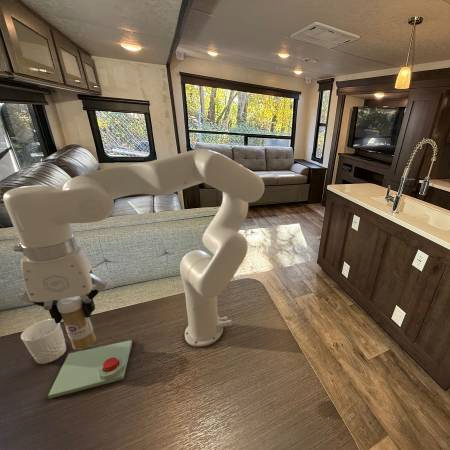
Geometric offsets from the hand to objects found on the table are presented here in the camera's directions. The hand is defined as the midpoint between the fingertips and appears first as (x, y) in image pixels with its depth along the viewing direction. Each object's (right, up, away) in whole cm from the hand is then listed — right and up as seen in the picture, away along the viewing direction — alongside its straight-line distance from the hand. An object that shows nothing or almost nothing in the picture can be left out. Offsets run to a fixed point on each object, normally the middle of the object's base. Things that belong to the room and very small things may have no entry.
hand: (75, 315), depth 57 cm
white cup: (-23, -18, +17) cm, 34 cm away
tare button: (-1, -19, +13) cm, 23 cm away
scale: (-7, -21, +15) cm, 26 cm away
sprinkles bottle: (-1, -8, +3) cm, 9 cm away
